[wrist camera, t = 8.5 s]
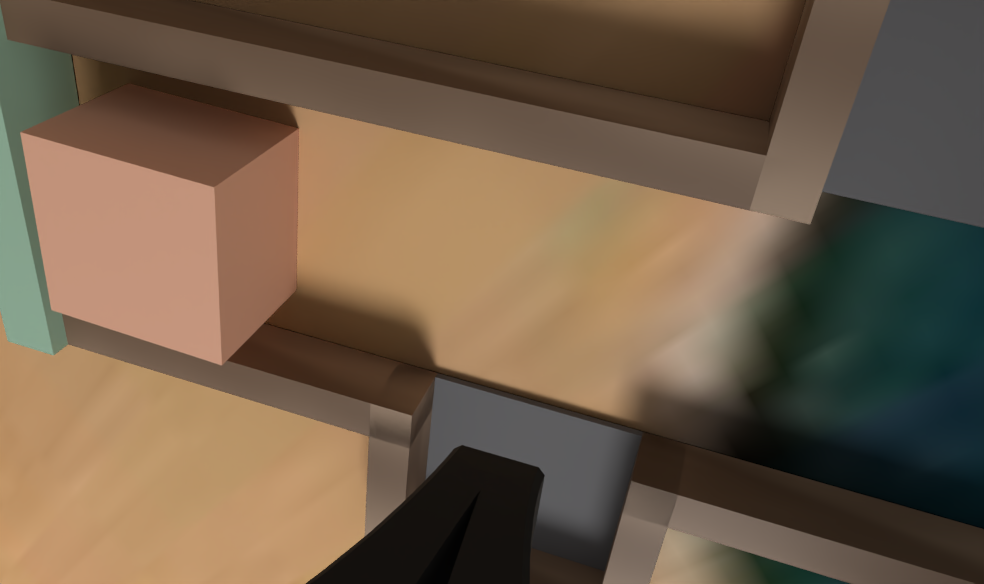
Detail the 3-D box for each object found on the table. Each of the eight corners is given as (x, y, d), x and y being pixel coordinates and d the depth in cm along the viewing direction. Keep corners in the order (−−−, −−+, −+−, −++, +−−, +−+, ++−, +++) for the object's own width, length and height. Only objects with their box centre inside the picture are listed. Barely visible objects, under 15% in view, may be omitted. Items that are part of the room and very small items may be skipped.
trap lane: (1000, 721, 25) (1019, 811, 23) (93, 427, 31) (41, 475, 28) (1616, -69, 13) (1775, -39, 11) (-47, -303, 19) (-154, -313, 17)
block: (298, 287, 25) (221, 365, 21) (147, 242, 26) (51, 310, 22) (301, 126, 22) (214, 187, 19) (131, 81, 23) (20, 132, 20)
